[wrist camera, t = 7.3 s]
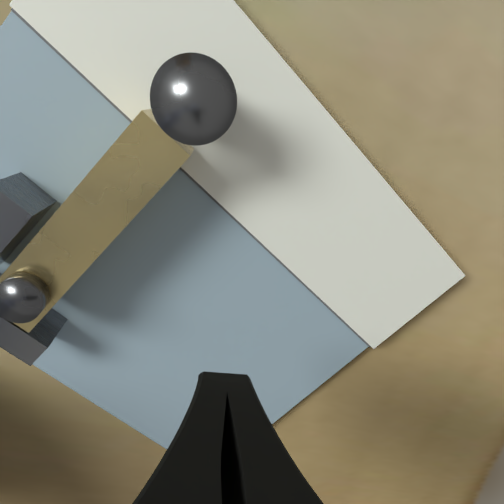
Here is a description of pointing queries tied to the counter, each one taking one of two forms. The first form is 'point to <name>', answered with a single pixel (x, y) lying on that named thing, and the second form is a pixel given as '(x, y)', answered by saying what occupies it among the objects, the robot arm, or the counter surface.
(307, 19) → the counter surface
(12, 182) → the keeper
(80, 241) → the swing bar
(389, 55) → the counter surface
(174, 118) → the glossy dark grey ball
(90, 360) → the door panel
